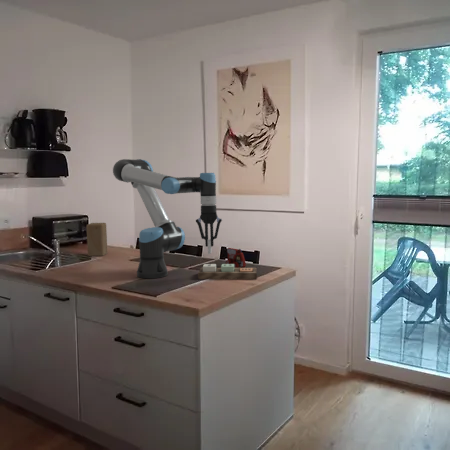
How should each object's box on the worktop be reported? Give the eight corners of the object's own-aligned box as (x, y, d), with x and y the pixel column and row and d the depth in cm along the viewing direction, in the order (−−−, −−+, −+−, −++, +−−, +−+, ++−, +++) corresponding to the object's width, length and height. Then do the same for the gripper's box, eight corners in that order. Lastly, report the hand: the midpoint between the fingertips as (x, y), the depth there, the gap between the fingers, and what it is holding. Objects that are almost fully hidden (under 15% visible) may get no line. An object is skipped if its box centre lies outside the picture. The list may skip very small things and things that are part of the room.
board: (198, 279, 215) (197, 272, 215) (201, 273, 227) (200, 267, 227) (256, 279, 213) (256, 273, 213) (256, 273, 225) (256, 267, 225)
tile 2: (221, 273, 217) (221, 266, 217) (222, 270, 223) (222, 263, 223) (233, 273, 217) (233, 266, 216) (234, 270, 223) (234, 263, 222)
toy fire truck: (239, 270, 233) (239, 250, 232) (223, 267, 242) (223, 248, 241) (248, 268, 237) (248, 249, 236) (232, 265, 247) (232, 246, 245)
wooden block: (103, 256, 279) (102, 224, 276) (87, 256, 279) (85, 224, 276) (107, 253, 289) (106, 222, 286) (92, 253, 289) (90, 222, 286)
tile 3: (239, 277, 217) (239, 270, 216) (240, 274, 223) (240, 267, 222) (252, 277, 216) (252, 270, 216) (252, 274, 222) (252, 267, 222)
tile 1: (202, 273, 218) (202, 266, 217) (204, 270, 224) (204, 263, 223) (215, 273, 217) (215, 266, 217) (216, 270, 223) (216, 263, 223)
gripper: (194, 205, 213) (195, 254, 216) (221, 205, 212) (222, 254, 215) (196, 204, 221) (197, 251, 223) (222, 204, 220) (223, 251, 223)
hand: (209, 253), depth 219 cm, fingers closed
